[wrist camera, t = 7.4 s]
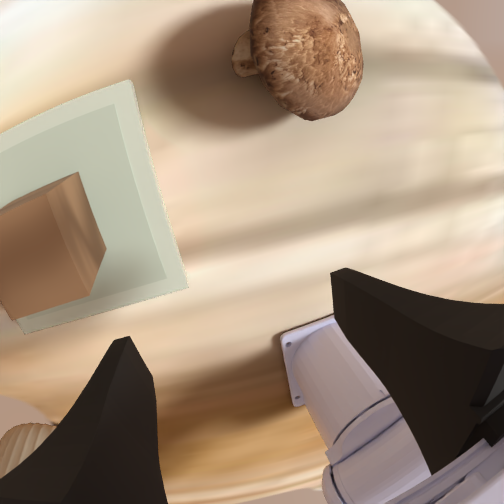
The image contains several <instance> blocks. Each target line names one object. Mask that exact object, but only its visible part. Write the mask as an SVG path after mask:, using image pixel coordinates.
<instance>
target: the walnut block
mask: <svg viewBox="0 0 504 504" xmlns="http://www.w3.org/2000/svg"><path fill="white" fill-rule="evenodd" d="M106 249H107V248H106V246H105V243H104V241H103V238H102V236H101V233H100V231H99V228H98V225H97V223H96V220H95V217H94V215H93V212H92V209H91V207H90V204H89V201H88V198H87V195H86V193H85V190H84V187H83V184H82V181H81V178H80V175H79V172H76V173H73V174H71V175H68V176H66V177H64V178H61V179H59V180H57V181H54V182H52V183H50V184H47V185H45V186H43V187H41V188H39V189H36V190H34V191H32V192H30V193H28V194H26V195H24V196H22V197H19V198H17V199H15V200H13V201H11V202H10V203H8V204H7V205H5V206H4V207H2V208H1V209H0V301H1V303H2V305H3V306H4V308H5V310H6V311H7V313H8V315H9V317H10V318H11V320H12V321H13V320H16V319H19V318H22V317H25V316H28V315H31V314H34V313H37V312H40V311H44V310H47V309H50V308H53V307H56V306H59V305H62V304H65V303H68V302H71V301H75V300H78V299H81V298H84V297H87V296H90V293H91V290H92V287H93V284H94V281H95V279H96V276H97V273H98V270H99V268H100V265H101V262H102V260H103V257H104V255H105V252H106Z"/></svg>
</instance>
